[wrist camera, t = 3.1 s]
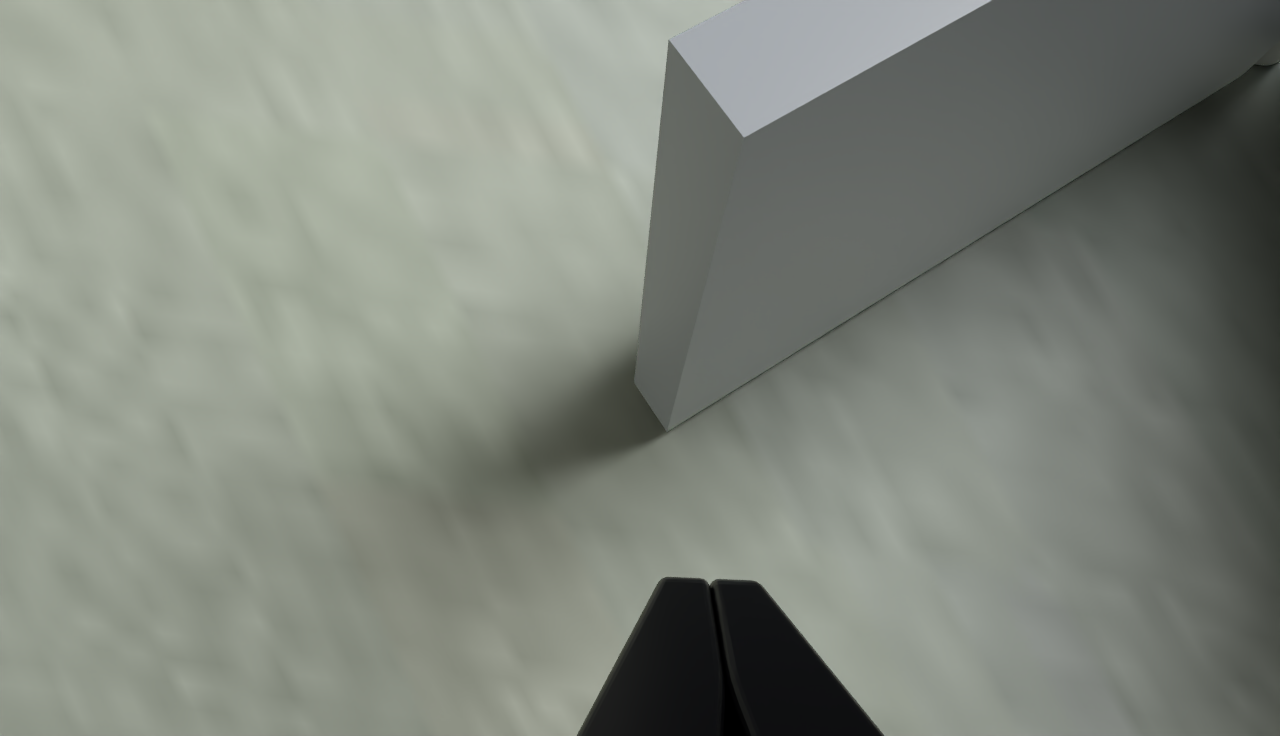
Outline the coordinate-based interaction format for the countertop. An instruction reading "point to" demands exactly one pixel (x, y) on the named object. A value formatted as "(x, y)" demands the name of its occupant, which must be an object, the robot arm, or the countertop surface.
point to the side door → (885, 153)
